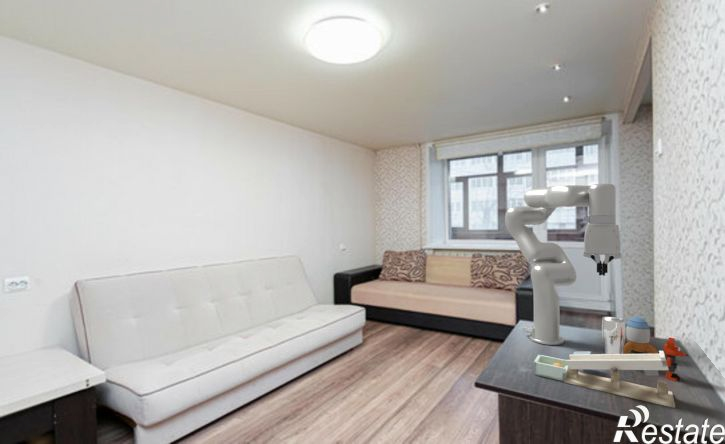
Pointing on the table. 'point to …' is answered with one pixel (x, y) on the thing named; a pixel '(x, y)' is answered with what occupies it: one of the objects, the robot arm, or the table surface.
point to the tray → (550, 367)
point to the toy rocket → (638, 337)
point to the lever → (619, 362)
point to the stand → (622, 387)
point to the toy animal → (672, 358)
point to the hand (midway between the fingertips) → (602, 274)
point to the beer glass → (613, 335)
